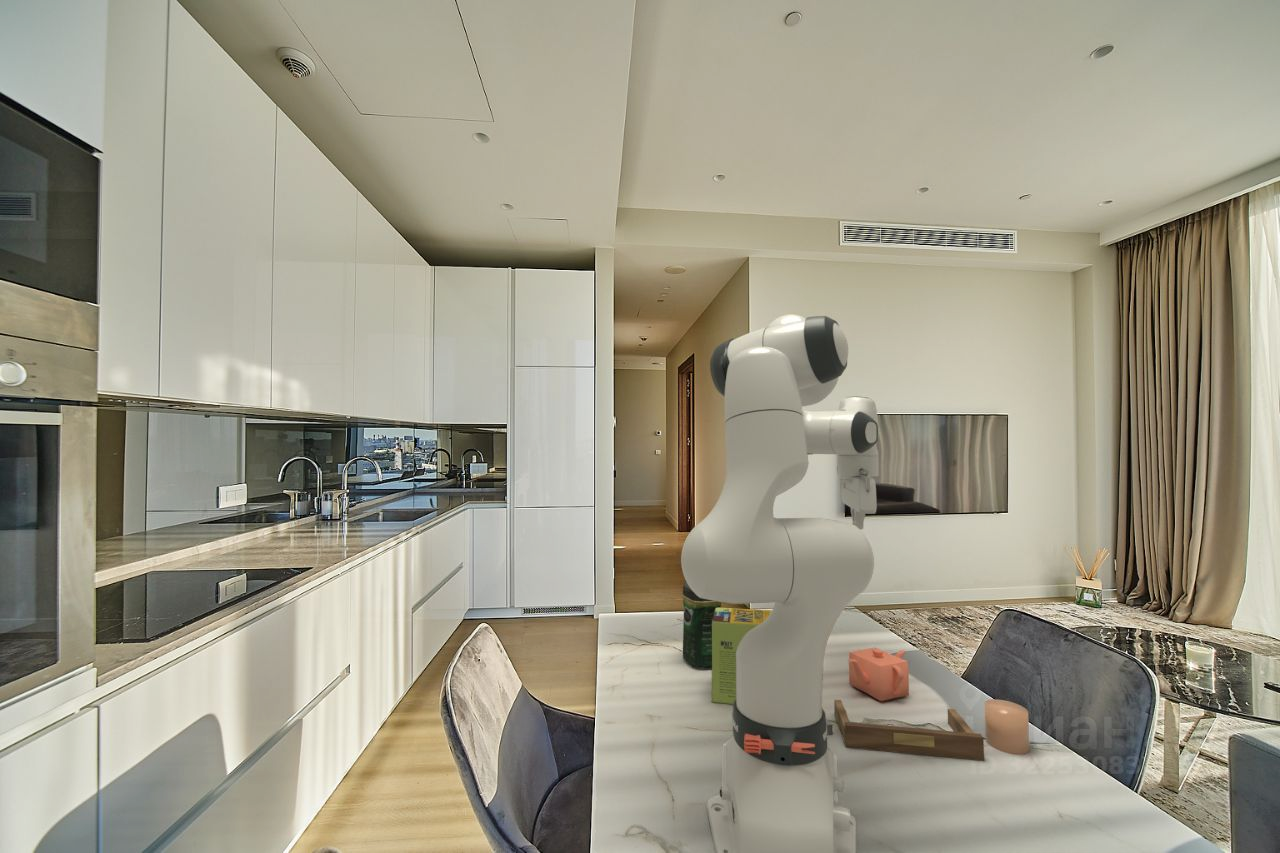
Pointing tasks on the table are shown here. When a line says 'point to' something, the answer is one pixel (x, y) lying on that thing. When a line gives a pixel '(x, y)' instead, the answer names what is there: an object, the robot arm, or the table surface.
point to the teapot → (879, 673)
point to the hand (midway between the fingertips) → (857, 528)
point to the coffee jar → (697, 628)
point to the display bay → (912, 737)
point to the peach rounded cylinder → (1007, 726)
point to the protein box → (729, 647)
